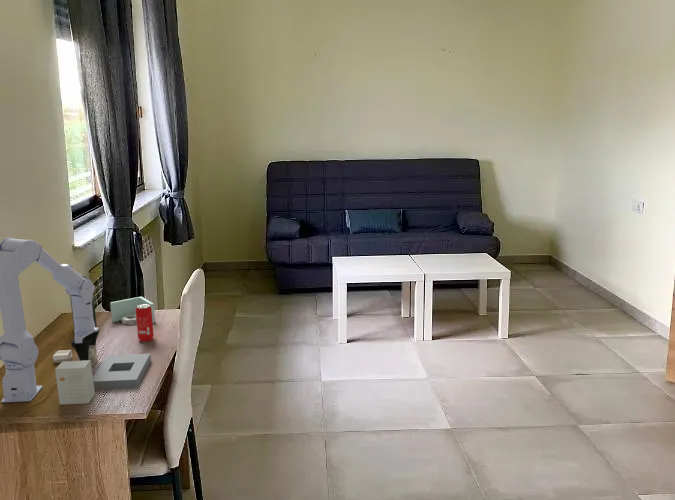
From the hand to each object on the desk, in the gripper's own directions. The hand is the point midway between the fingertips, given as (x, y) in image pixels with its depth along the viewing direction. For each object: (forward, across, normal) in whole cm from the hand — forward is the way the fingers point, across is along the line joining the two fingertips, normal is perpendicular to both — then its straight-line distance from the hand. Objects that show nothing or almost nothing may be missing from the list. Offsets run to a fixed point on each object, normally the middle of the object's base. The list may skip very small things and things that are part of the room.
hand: (87, 357), depth 209 cm
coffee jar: (+2, +35, +11) cm, 37 cm away
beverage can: (+2, +19, -14) cm, 24 cm away
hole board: (+2, -11, -13) cm, 17 cm away
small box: (+2, -27, -5) cm, 28 cm away
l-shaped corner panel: (+2, +39, -5) cm, 39 cm away
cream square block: (+2, 0, 0) cm, 2 cm away
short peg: (+2, +4, +9) cm, 10 cm away
